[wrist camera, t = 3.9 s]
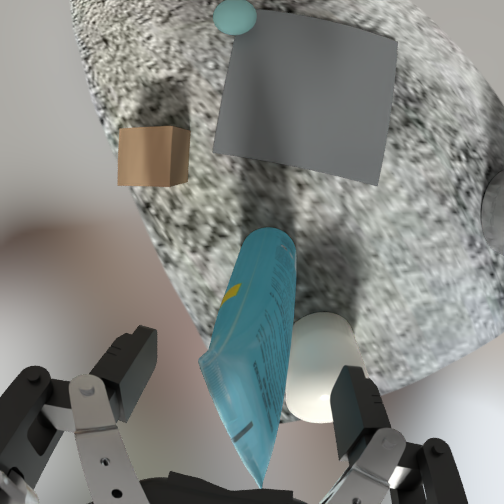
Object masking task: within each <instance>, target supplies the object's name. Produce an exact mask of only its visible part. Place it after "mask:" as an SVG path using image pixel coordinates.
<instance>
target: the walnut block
mask: <svg viewBox="0 0 504 504" xmlns="http://www.w3.org/2000/svg"><path fill="white" fill-rule="evenodd" d="M190 133H191V131H189V130H185V129H182V128H178V127H175V126H157V127H137V128H123V129H120V132H119V150H118V186H158V187H171V186H175V185H178V184H182V183H186V182H188V165H189V147H190Z"/></svg>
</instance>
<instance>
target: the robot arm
mask: <svg viewBox="0 0 504 504" xmlns="http://www.w3.org/2000/svg"><path fill="white" fill-rule="evenodd" d="M481 221H482V229H483V233H484V237H485V239H486V241H487V243H488V244H489V246H490V247H491V248H492V249H493V250H495V251H496V252H498V253H500V254H501V255H503V256H504V171H502V172H500V173H498V174H497V175H496V176H495V177H494V178H493V179H492V181H491V182H490V183H489V185H488V188H487V190H486V192H485V196H484V199H483V204H482V214H481ZM156 362H157V330H156V329H153V328H149V327H145V326H142V325H139V326H138V327H137V329H136V330H135V331H134V333H133V334H128V333H125V334H123V335H121V336H120V337H118V338H116V340H115V341H114V342H113V343H112V345H111V347H109V349H108V350H107V351H106V353H105V354H104V355H103V356H102V358H101V359H100V360H99V362H98V363H97V364H96V365H95V367H94V368H93V369H92V370H91V372H90V373H89V374H83V375H79V376H77V377H75V378H73V379H72V381H63V380H57V379H51V377H50V374H49V372H48V371H47V370H46V369H45V368H43V367H40V366H30V367H27V368H25V369H24V370H22V371H21V373H20V374H19V375H18V376H17V377H16V379H15V380H14V381H13V382H12V383H11V385H10V386H9V387H8V388H7V389H6V391H5V392H4V393H3V394H2V396H1V397H0V504H39V499H38V496H37V494H36V493H35V491H34V488H35V485H36V484H37V482H38V480H39V478H40V475H41V473H42V471H43V470H44V468H45V466H46V464H47V462H48V460H49V458H50V456H51V454H52V453H53V451H54V449H55V447H56V445H57V443H58V441H59V440H60V438H61V436H62V434H63V432H64V431H68V432H74V434H75V440H76V444H77V448H78V452H79V456H80V460H81V464H82V468H83V471H84V475H85V478H86V481H87V485H88V488H89V491H90V494H91V497H92V500H93V502H91V503H88V504H307V503H305V502H303V501H301V500H298V499H295V498H293V491H289V490H274V489H253V490H239V491H230V490H227V489H224V488H222V487H219V486H217V485H214V484H212V483H210V482H207V481H205V480H203V479H200V478H196V477H192V476H188V475H183V474H180V473H176V472H172V471H170V473H169V476H168V478H166V477H156V478H148V479H144V480H140V481H139V480H138V478H137V476H136V473H135V471H134V469H133V466H132V464H131V461H130V459H129V456H128V454H127V452H126V448H125V446H124V443H123V440H122V438H121V435H120V432H119V429H118V427H117V425H116V423H117V421H118V420H120V421H122V422H125V423H127V421H128V419H129V417H130V415H131V413H132V411H133V409H134V408H135V406H136V404H137V402H138V400H139V398H140V396H141V394H142V392H143V390H144V388H145V386H146V384H147V382H148V380H149V379H150V377H151V375H152V373H153V371H154V369H155V366H156ZM330 406H331V412H332V418H333V424H334V430H335V437H336V443H337V450H338V457H339V461H349V467H348V468H347V469H346V470H345V472H344V473H343V475H342V476H341V477H340V478H339V480H338V481H337V482H336V484H335V485H334V486H333V487H332V489H331V490H330V491H329V492H328V493H327V495H326V496H325V497H324V498H323V499H322V500H321V501H320V502H319V504H381V502H382V500H383V499H384V497H385V495H386V493H387V491H388V489H389V488H390V493H391V500H392V504H468V501H467V498H466V494H465V491H464V488H463V484H462V482H461V478H460V475H459V472H458V469H457V466H456V463H455V461H454V458H453V455H452V452H451V449H450V447H449V445H448V444H447V443H445V441H443V440H441V439H439V438H430V439H428V440H427V441H426V442H425V443H424V444H423V445H419V444H414V443H409V442H406V440H405V438H404V436H403V435H402V434H401V433H400V432H399V431H397V430H395V429H392V428H391V425H390V422H389V419H388V416H387V413H386V410H385V407H384V405H383V404H382V399H381V397H380V393H379V390H378V388H377V386H376V385H375V384H374V382H373V381H372V380H371V379H370V378H366V377H365V374H364V371H363V369H362V367H360V366H350V365H344V366H343V368H342V369H341V372H340V374H339V376H338V378H337V380H336V382H335V384H334V386H333V389H332V391H331V395H330ZM422 484H424V489H425V493H426V498H427V499H426V498H425V494H424V489H423V485H422Z"/></svg>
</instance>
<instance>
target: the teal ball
mask: <svg viewBox="0 0 504 504" xmlns="http://www.w3.org/2000/svg"><path fill="white" fill-rule="evenodd" d="M256 19H257V13H256V10H255V8H254V7H253V5H252V4H250V3H249V2H248V1H246V0H225V1H223V2H221V3H220V4H219V5H218V6H217V7H216V9H215V11H214V13H213V21H214V24H215V26H216V27H217V28H218V29H219V30H220V31H221V32H223V33H225V34H229V35H240V34H243V33H246V32H248V31H249V30H250V29H251V28H252V27H253V26H254V25H255V23H256Z"/></svg>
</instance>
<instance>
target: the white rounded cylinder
mask: <svg viewBox="0 0 504 504" xmlns="http://www.w3.org/2000/svg"><path fill="white" fill-rule="evenodd" d="M344 365H350V366H360V367H362V369H363V371H364V374H365V377H366V378H369V375H368V372H367V369H366V366H365V364H364V361H363V358H362V355H361V352H360V349H359V347H358V344H357V341H356V338H355V336H354V333H353V330H352V328H351V326H350V324H349V323H348V321H346V320H345V319H344V318H343V317H341V316H339V315H337V314H334V313H330V312H318V313H313V314H310V315H307V316H305V317H303V318H301V319H300V320H298V321H297V322H296V323H295V324H294V325H293V330H292V340H291V349H290V358H289V366H288V373H287V380H286V403H287V406H288V409H289V410H290V411H291V413H292V414H294V415H295V416H296V417H298V418H300V419H302V420H304V421H308V422H313V423H329V422H333V418H332V412H331V406H330V395H331V391H332V389H333V386H334V384H335V382H336V380H337V378H338V376H339V374H340V372H341V369H342V368H343V366H344Z"/></svg>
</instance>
